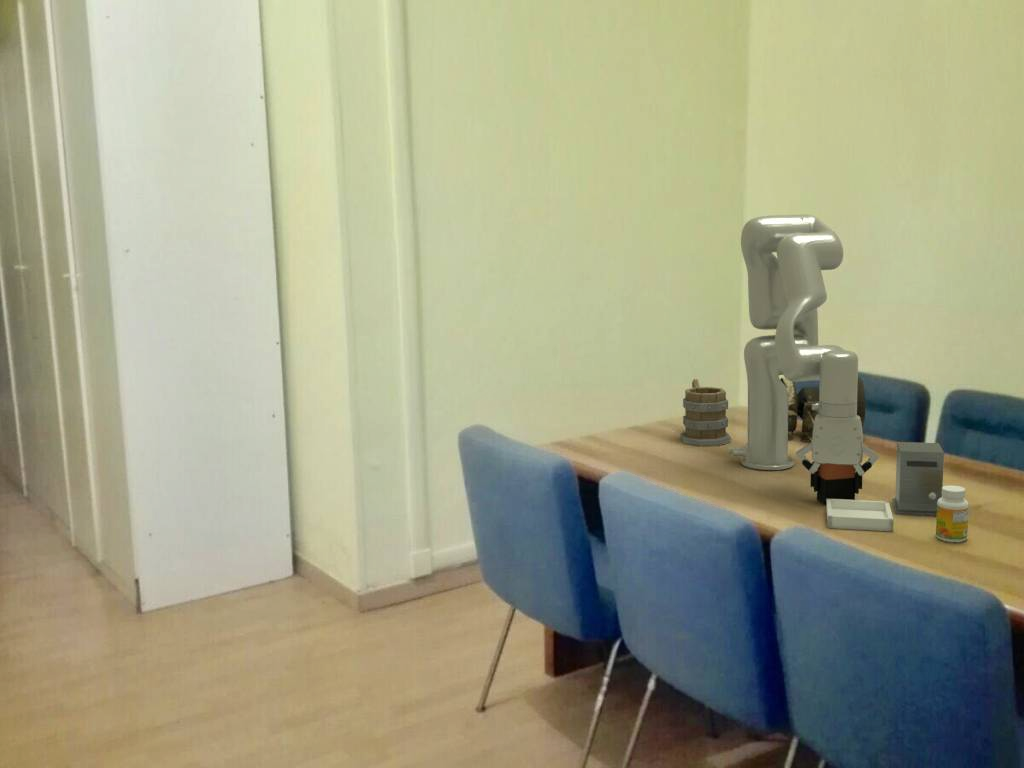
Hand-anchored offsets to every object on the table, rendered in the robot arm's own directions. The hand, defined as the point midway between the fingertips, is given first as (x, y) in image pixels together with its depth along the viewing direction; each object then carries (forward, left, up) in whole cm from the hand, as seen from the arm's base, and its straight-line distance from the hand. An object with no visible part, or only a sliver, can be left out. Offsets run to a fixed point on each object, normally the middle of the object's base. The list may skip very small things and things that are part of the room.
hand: (835, 490), depth 208 cm
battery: (0, 0, -3) cm, 3 cm away
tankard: (-33, +55, -3) cm, 64 cm away
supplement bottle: (+20, -20, -3) cm, 28 cm away
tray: (+4, -12, -2) cm, 13 cm away
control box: (+16, -2, -2) cm, 16 cm away
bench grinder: (-2, +59, -3) cm, 59 cm away
